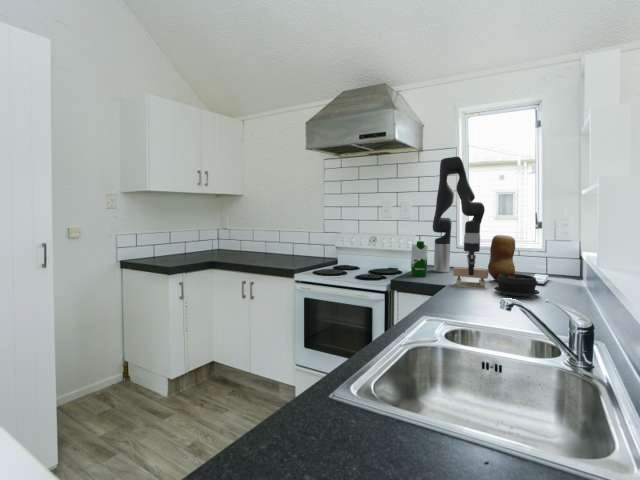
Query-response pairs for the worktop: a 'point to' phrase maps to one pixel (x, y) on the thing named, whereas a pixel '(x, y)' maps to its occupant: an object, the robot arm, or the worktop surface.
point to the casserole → (517, 285)
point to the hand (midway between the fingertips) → (470, 273)
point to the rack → (479, 284)
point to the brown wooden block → (465, 272)
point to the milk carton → (419, 259)
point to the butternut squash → (501, 256)
